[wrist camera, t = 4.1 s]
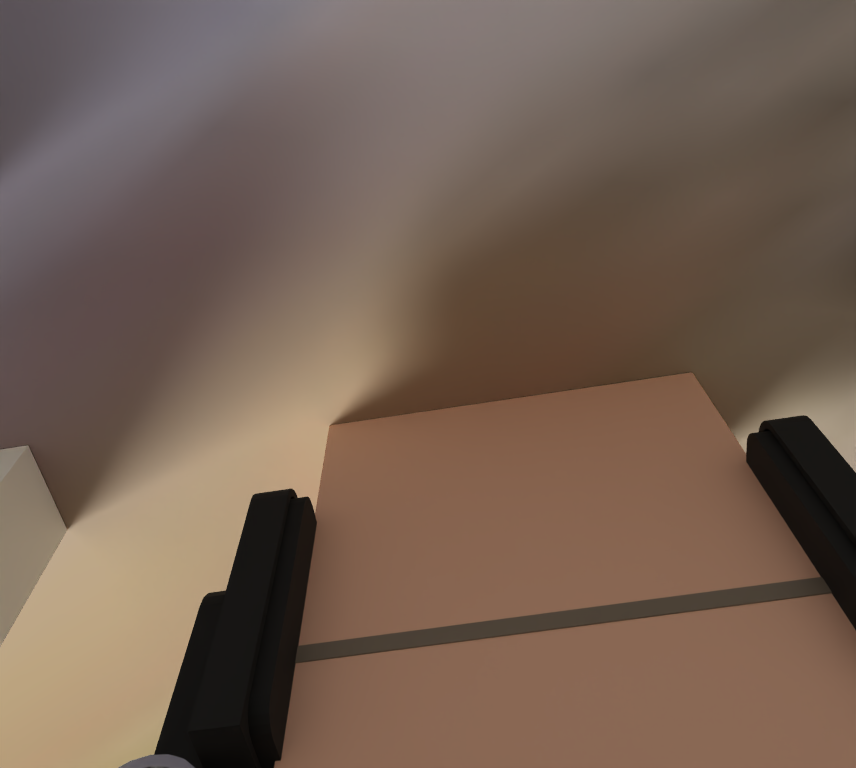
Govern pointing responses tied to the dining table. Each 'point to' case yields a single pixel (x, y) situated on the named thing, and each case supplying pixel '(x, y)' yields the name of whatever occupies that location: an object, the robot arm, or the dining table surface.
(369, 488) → the domino
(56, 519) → the domino
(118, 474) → the dining table surface
